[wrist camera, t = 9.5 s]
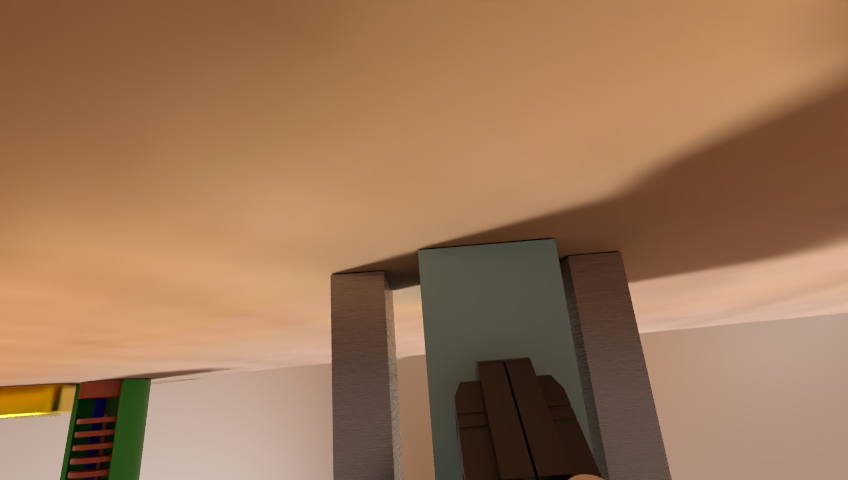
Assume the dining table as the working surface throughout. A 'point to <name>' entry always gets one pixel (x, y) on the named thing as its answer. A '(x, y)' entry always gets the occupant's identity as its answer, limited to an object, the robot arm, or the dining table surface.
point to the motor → (106, 430)
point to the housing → (595, 353)
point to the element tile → (36, 401)
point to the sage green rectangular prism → (492, 327)
